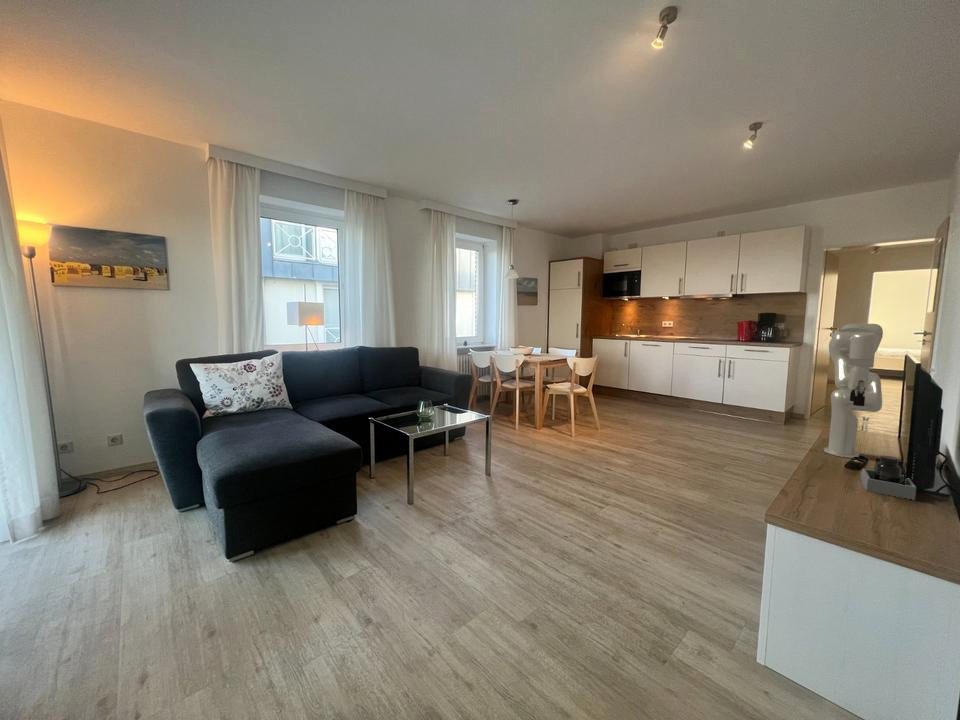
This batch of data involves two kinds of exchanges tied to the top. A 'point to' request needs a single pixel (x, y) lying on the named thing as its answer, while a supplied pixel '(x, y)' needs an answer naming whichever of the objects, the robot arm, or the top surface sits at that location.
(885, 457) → the supplement bottle
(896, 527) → the top surface
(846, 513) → the top surface
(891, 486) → the bin
